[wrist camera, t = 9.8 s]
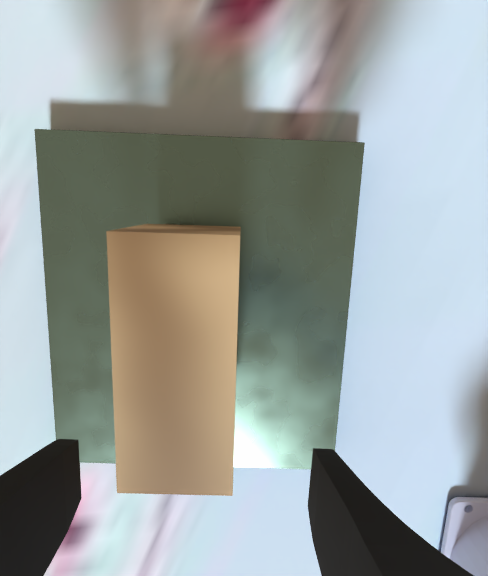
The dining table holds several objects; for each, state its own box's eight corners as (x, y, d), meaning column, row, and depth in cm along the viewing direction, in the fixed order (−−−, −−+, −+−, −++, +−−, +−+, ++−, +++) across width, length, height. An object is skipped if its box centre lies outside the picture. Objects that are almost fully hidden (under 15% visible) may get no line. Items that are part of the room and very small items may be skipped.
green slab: (355, 147, 19) (379, 134, 16) (326, 452, 23) (342, 496, 19) (50, 134, 19) (8, 119, 16) (69, 445, 23) (38, 487, 19)
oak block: (240, 226, 17) (240, 235, 12) (234, 418, 18) (232, 495, 14) (146, 223, 16) (106, 231, 12) (150, 416, 18) (117, 492, 13)
